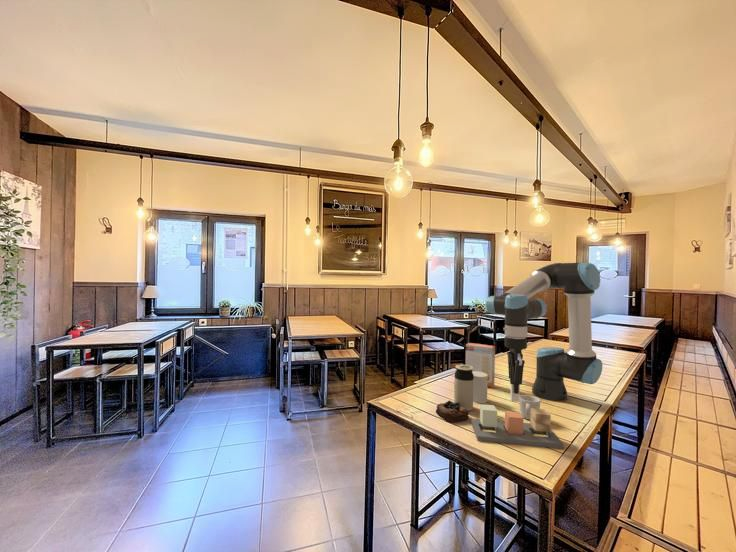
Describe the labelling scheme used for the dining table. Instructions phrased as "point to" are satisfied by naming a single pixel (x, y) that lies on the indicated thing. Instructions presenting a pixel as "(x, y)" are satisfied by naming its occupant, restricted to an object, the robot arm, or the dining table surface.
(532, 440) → the board
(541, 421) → the oak block
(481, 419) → the sage block
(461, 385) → the travel mug
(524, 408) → the cup
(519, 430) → the terracotta block
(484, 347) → the cracker box
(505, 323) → the robot arm
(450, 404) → the pastry
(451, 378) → the dining table surface
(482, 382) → the white cylindrical canister
